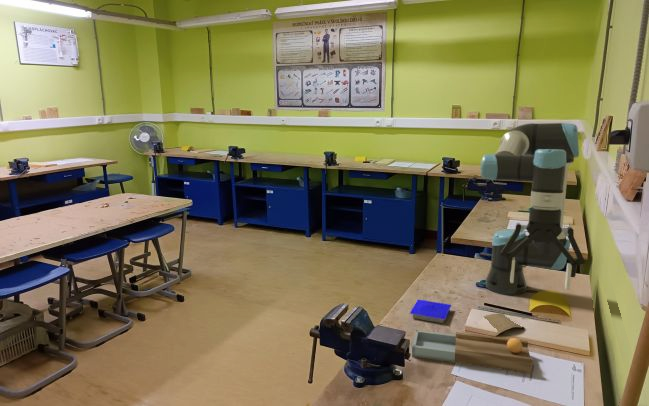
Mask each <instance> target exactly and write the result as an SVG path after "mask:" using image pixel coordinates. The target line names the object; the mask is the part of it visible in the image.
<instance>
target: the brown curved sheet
mask: <svg viewBox="0 0 649 406" xmlns="http://www.w3.org/2000/svg"><path fill="white" fill-rule="evenodd" d="M504 315H505V314H504V313H500V312H499V313H498V312H497V313H492V314H486V315H485V316H483V317H484V318H485V319H487V320H488V321H489V323H490V324H491V325H492V326H493V327H494V328H496V329H497V331H498V332H497V333H496V334H493V335H492V337H497V336H498V335H499V334H501V333H503V332H505V331H506V330H509V329H512V328H522V327H521V326H522V325H521V324H519V323H518V324H519V325H518V324H516V323H517V322H516V323H514V322H515V321H514V320H513V321H514V322H513V321H511V320H512V319H511V318H509V317H508V316H507V317H508V318H507V317H505V316H504ZM510 319H511V320H510ZM520 325H521V326H520Z"/></svg>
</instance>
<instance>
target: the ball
mask: <svg viewBox="0 0 649 406" xmlns="http://www.w3.org/2000/svg"><path fill="white" fill-rule="evenodd" d="M508 339H509V340H508V342H507V347H508V349H509V350H510V351H511V352H513V353H518V352H520V351H521V350H522V343H521V341H520V340H521V339H519V338H516V337H512V338H508Z"/></svg>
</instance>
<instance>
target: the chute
mask: <svg viewBox="0 0 649 406" xmlns="http://www.w3.org/2000/svg"><path fill="white" fill-rule="evenodd" d="M455 335H456V343H455V363H456V364H462V365H468V366H476V367H484V368H489V369H491V368H492V369H497V370H505V371H510V372H511V371H512V372H517V373H518V372H519V373H526V374H532V369H533V357H531V355H530V351H529V346H528V344H529V342H528V340H523V339H522V340H521V339H519V340H520V341H521V343H522V350H521V351H520V352H518V353H513V352H511V351H510V350H509V349H508V347H507V342H508V340H509V339H510V338H505V337H498V336H489V335H481V334H473V333H466V332H465V333H464V332H455Z"/></svg>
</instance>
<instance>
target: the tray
mask: <svg viewBox="0 0 649 406" xmlns="http://www.w3.org/2000/svg"><path fill="white" fill-rule="evenodd" d="M455 343H456V334H449V333H442V332H433V331H425V330H417V329H416V330H415V333H414V338H413V342H412V345H411V348H412V349H411V357H414V358H415V357H416V358H421V359H426V360H427V359H428V360H434V361H439V362H440V361H442V362H448V363H453V364H454V363H455Z"/></svg>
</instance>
